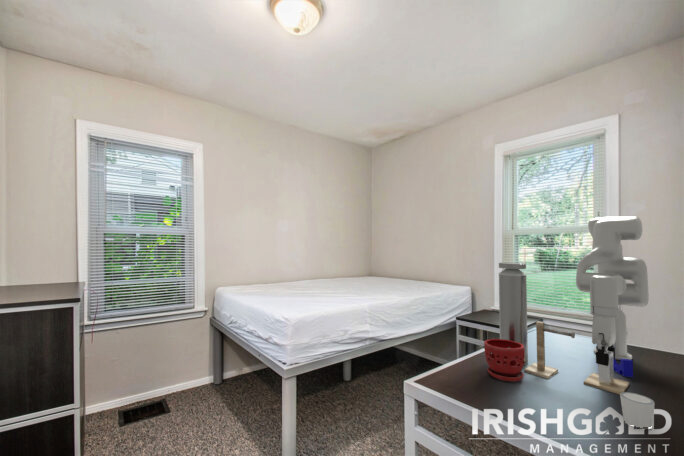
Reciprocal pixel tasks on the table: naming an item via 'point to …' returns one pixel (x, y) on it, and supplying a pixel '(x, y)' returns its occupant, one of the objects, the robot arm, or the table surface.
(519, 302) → the grey metal bottle
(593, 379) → the mat
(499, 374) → the plant pot
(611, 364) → the c link
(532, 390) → the table surface
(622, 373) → the cable clip
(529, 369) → the stand
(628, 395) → the shot glass
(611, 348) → the robot arm
